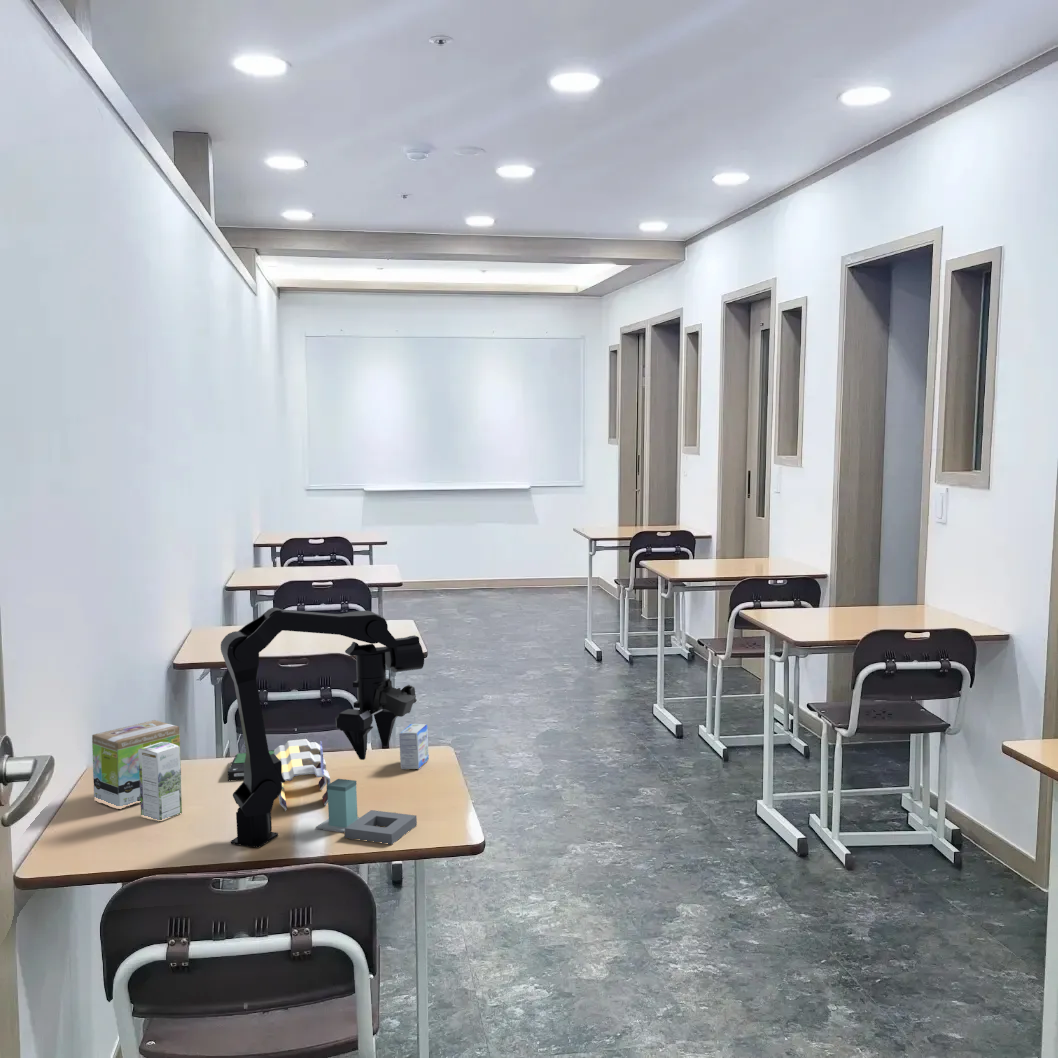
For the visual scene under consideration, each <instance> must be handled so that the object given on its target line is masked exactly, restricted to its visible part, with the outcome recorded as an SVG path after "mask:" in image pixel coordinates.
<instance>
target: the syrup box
mask: <svg viewBox="0 0 1058 1058" xmlns="http://www.w3.org/2000/svg"><path fill="white" fill-rule="evenodd" d="M138 754H139V778H140V801H141V803H140V816H141V815H144V816H148V817H151V818H153V819H157V820H162V819H165V818H168V817H172V816H174V817H176V816H175V815H177V814H179V815H181V814H182V813H183V808H182V807H183V804H182V803H183V802H182V800H183V799H182V772H181V773H180V760H181V746H180V747H179V746H178V745H175V744H172V743H168V742H159V743H156V744H153V745H150V746H147V747H144V748H141V749H139V750H138ZM180 813H181V814H180ZM177 816H178V815H177ZM172 818H173V817H172Z"/></svg>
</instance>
